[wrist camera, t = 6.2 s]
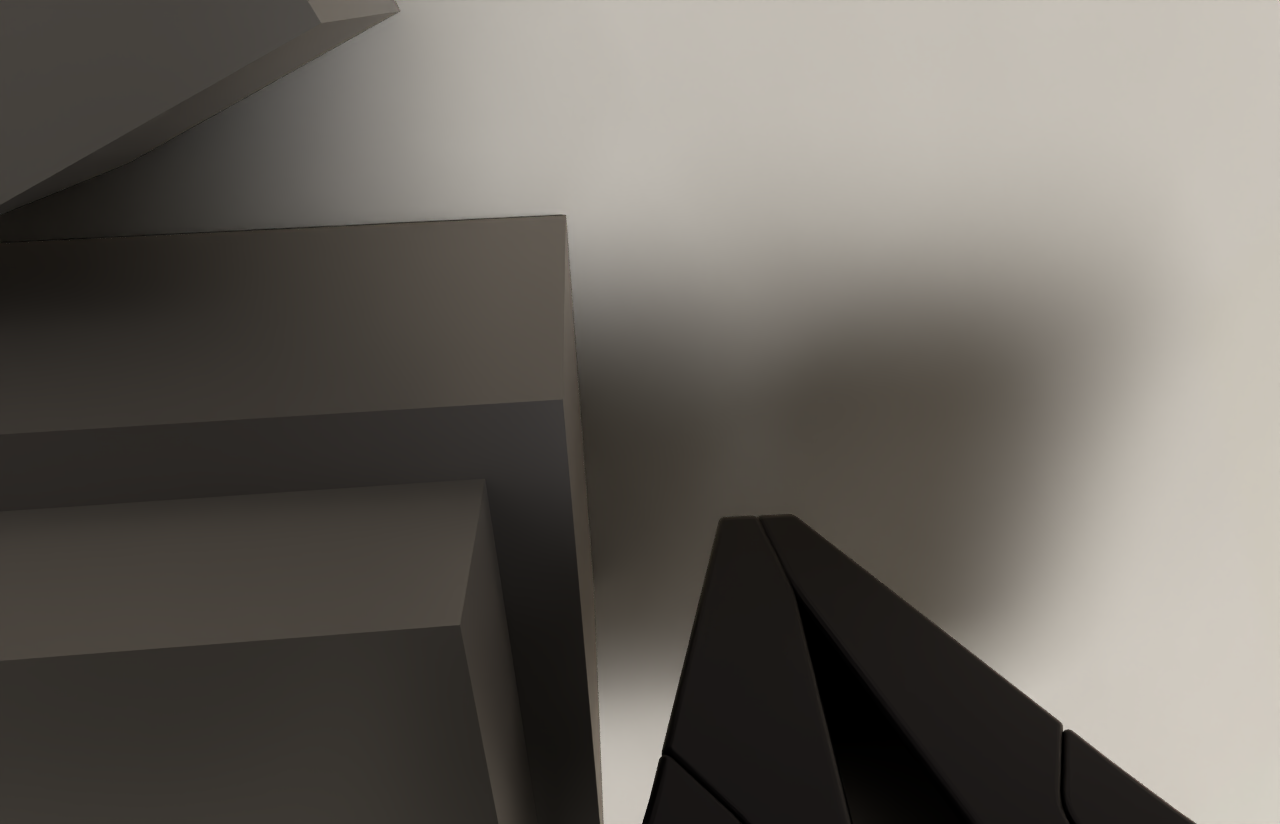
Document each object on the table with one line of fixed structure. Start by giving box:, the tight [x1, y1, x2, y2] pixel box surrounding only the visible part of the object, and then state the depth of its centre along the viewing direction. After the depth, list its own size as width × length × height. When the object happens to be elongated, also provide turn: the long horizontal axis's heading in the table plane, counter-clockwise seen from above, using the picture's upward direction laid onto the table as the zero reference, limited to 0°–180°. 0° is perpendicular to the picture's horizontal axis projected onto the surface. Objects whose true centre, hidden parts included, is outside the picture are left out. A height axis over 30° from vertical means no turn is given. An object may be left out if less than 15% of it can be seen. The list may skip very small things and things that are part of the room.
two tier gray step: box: [0, 215, 604, 824], centre depth 7 cm, size 5×9×5 cm, turn 91°
